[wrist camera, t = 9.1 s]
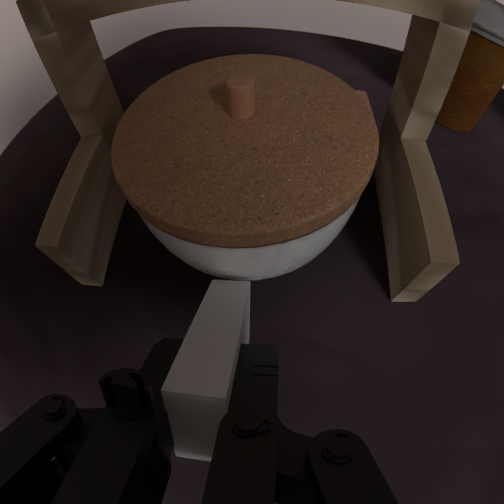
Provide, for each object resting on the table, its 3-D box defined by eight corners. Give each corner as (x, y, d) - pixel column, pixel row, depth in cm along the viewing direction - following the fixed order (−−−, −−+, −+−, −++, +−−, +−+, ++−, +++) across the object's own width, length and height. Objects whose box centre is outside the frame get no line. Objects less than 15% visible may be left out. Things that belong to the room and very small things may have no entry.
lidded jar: (372, 280, 17) (449, 163, 8) (174, 332, 16) (82, 246, 8) (307, 140, 21) (318, 18, 13) (153, 174, 21) (107, 56, 12)
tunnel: (390, 161, 20) (452, -34, 7) (415, 301, 16) (600, 92, 3) (123, 155, 22) (49, -22, 9) (81, 284, 17) (-92, 104, 4)
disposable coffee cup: (383, 74, 26) (406, -35, 15) (459, 85, 26) (491, -5, 15) (423, 142, 21) (474, 8, 11) (503, 149, 21) (559, 49, 11)
